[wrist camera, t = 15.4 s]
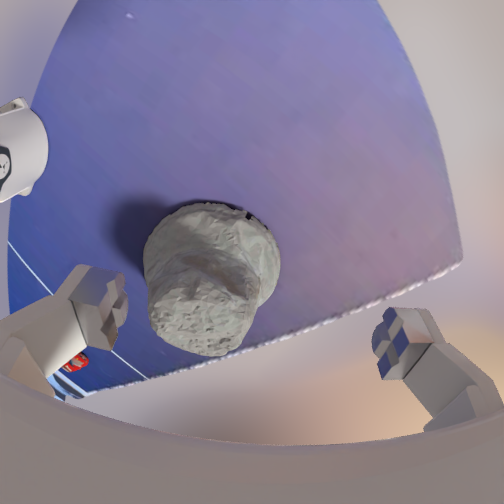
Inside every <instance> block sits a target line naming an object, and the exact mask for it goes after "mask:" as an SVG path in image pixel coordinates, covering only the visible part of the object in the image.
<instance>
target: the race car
mask: <svg viewBox="0 0 504 504" xmlns="http://www.w3.org/2000/svg"><path fill="white" fill-rule="evenodd" d="M88 362H89V360H88V358H87V357H86V356H85V355H84V354H83V353H81V352H79V353H78V354H77V355H76V356H74V357H73V358H72V359H70V360H69V361H68V362H67V363H65V364H64V365H63V366H62V368H63V369H64V370H66V371H68V372H73V371H76V370H78V369H79V370H81V369H80V368H82V367H84V366H86V365H87V364H88Z"/></svg>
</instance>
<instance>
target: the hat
mask: <svg viewBox="0 0 504 504" xmlns="http://www.w3.org/2000/svg"><path fill="white" fill-rule="evenodd" d="M246 214H247V212H246V211H245V210H243V212H242V211H240V210H237V209H235V211H234V210H232V209H231V208H229V207H227V206H226V205H224V204H215V203H212V204H210V203H209V202H207V203H206V204H203V203H201V204H200V203H198V204H197V203H195V204H194V205H190V206H189V205H187V206H186V207H184V206H183V207H181V208H180V209H179V210H178V211H176V212H175V213H173V214H172V215H170V214H169V215H168V216H166V217H165V218H164V219H162V220H161V222H160V223H159V224H158V226H156V227H155V228H154V230H153V232H152V234H151V235H149V236H148V241H147V242H146V244H145V248H144V249H143V250H144V252H143V264H144V277H145V280H146V284H147V287H148V313H149V319H150V325H151V327H152V328H153V329H154V330H155V331H156V332H157V335H158V336H160V337H162V338H163V340H164V341H166V342H167V343H169V344H171V345H174V346H176V347H179V348H181V349H183V350H186V351H189V352H192V353H196V354H199V355H205V356H222V355H225V354H226V353H227V352H228V351H230V350H233V349H236V348H237V347H238V346H239V345H240V344H241V343H242V340H243V338H244V337H245V335H246V333H247V331H248V329H249V328H250V326H251V324H252V322H253V318H254V315H255V313H256V310H257V308H258V307H259V306H260V305H262V304H263V303H264V302H265V301H266V300H267V299H268V298H269V297H270V295H271V294H272V292H273V291H274V288H275V285H276V284H277V281H278V277H279V272H280V253H279V248H278V245H277V243H276V242H275V239H274V237H273V235H272V233H271V231H270V230H267V229H266V228H265V227H264V226H263V225H264V224H263V223H262V224H261V223H260V222H259V221H258V220H257V219H256V218H255V217H253V216H252V217H251V219H253V220H251V219H250V220H248V219H247V218H245V216H246Z"/></svg>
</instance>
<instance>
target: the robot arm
mask: <svg viewBox="0 0 504 504" xmlns="http://www.w3.org/2000/svg"><path fill="white" fill-rule="evenodd" d="M47 158H48V140H47V134H46V131H45V128H44V126H43V123H42V122H41V120H40V118H39V117H38V116H37V115H36V114H35V113H34V112H33V111H32V110H31V109H30V108H29V107H28V104H27V102H26V100H25V99H24V98H23V97H19V98H17V99H15V100H13V101H11V102H9V103H8V104H6V105H4V106H2V107H0V203H1V202H4V201H6V200H7V199H9V198H11V197H13V196H15V195H16V194H20V195H23V196H27V195H29V194H30V192H31V190H32V187H33V184H34V183H35V181H36V180H37V179H38V178H39V177H40V176H41V175H42V173H43V171H44V169H45V166H46V163H47ZM125 284H126V283H125V278H124V274H123V273H121V272H117V271H113V270H108V269H103V268H98V267H92V266H88V265H83V264H79V265H77V266H76V267H75V268H74V269H73V270H72V272H71V273H70V274H69V276H68V277H67V278H66V279H65V281H64V282H63V283H62V285H61V286H60V287H59V289H58V290H57V291H56V293H55V294H54V295H53V296H51V295H48V296H46V297H44V298H42V299H40V300H38V301H36V302H34V303H32V304H30V305H28V306H27V307H25V308H23V309H21V310H19V311H17V312H15V313H13V314H11V315H9V316H7V317H6V318H3V319H2V320H0V504H504V404H503V402H502V399H501V397H500V395H499V393H498V390H497V388H496V386H495V384H494V382H493V380H492V379H491V378H490V377H489V376H487V375H486V374H485V373H484V372H483V371H482V370H481V369H480V368H478V367H477V366H476V365H475V364H474V363H473V362H471V361H470V360H469V359H468V358H467V357H466V356H464V355H463V354H462V353H461V352H460V351H458V350H457V349H456V348H455V347H454V346H452V345H451V344H450V343H446V341H445V340H444V338H443V336H442V334H441V332H440V330H439V328H438V326H437V324H436V322H435V321H434V319H433V317H432V315H431V313H430V312H429V311H428V310H427V309H417V308H414V309H411V308H396V307H389V308H388V309H387V310H386V311H385V313H384V314H383V322H382V323H380V324H379V325H378V326H377V327H376V329H375V330H374V332H373V336H372V349H373V352H374V354H375V355H376V356H377V357H378V358H379V361H378V363H377V365H378V368H379V372H380V375H381V378H382V380H403V382H404V383H405V384H406V385H407V387H408V388H409V389H410V390H411V391H412V393H413V394H414V395H415V396H416V397H417V399H418V400H419V401H420V402H421V403H422V405H423V406H424V407H425V408H426V410H427V411H428V412H429V413H430V415H431V416H432V417H433V419H432V420H431V421H430V422H428V423H427V424H426V425H425V426H424V428H423V429H424V432H422V433H418V434H413V435H407V436H402V437H396V438H390V439H382V440H375V441H366V442H357V443H347V444H346V443H345V444H330V445H262V444H248V443H235V442H226V441H217V440H209V439H202V438H195V437H189V436H184V435H178V434H172V433H168V432H163V431H158V430H154V429H149V428H145V427H141V426H137V425H133V424H129V423H126V422H122V421H119V420H115V419H112V418H108V417H105V416H102V415H98V414H96V413H93V412H90V411H87V410H84V409H81V408H78V407H76V406H73V405H70V404H68V403H65V402H63V401H60V400H58V399H55V398H54V396H55V392H54V389H53V388H52V386H51V385H50V384H49V382H48V381H47V378H48V377H49V376H50V375H52V374H53V373H54V372H55V371H57V370H58V369H59V368H60V367H62V366H63V365H64V364H65V363H67V362H68V361H69V360H70V359H72V358H73V357H74V356H76V355H77V354H78V353H79V352H81V351H82V350H83V349H84V348H86V347H87V345H88V346H92V347H96V348H100V349H104V350H109V351H111V350H112V348H113V346H114V343H115V341H116V339H117V337H118V331H117V328H118V327H119V326H121V325H123V323H124V321H125V319H126V316H127V311H128V296H127V294H126V293H125V292H124V290H123V287H124V286H125Z"/></svg>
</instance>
